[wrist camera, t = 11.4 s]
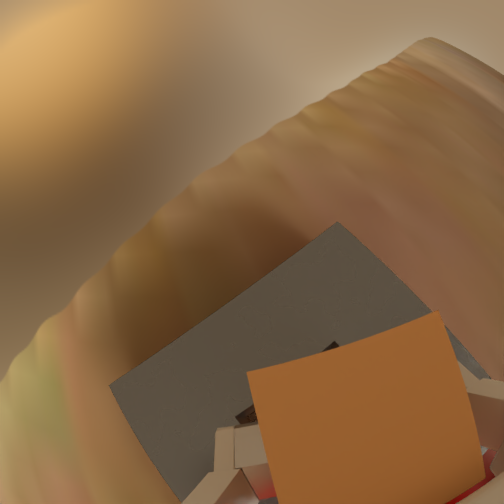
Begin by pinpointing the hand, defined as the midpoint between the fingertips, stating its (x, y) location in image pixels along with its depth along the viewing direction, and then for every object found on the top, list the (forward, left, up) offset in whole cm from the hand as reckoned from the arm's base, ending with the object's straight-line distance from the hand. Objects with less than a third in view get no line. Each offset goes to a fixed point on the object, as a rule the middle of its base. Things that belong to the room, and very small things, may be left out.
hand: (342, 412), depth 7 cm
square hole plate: (0, +1, -10) cm, 10 cm away
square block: (0, +1, -5) cm, 5 cm away
